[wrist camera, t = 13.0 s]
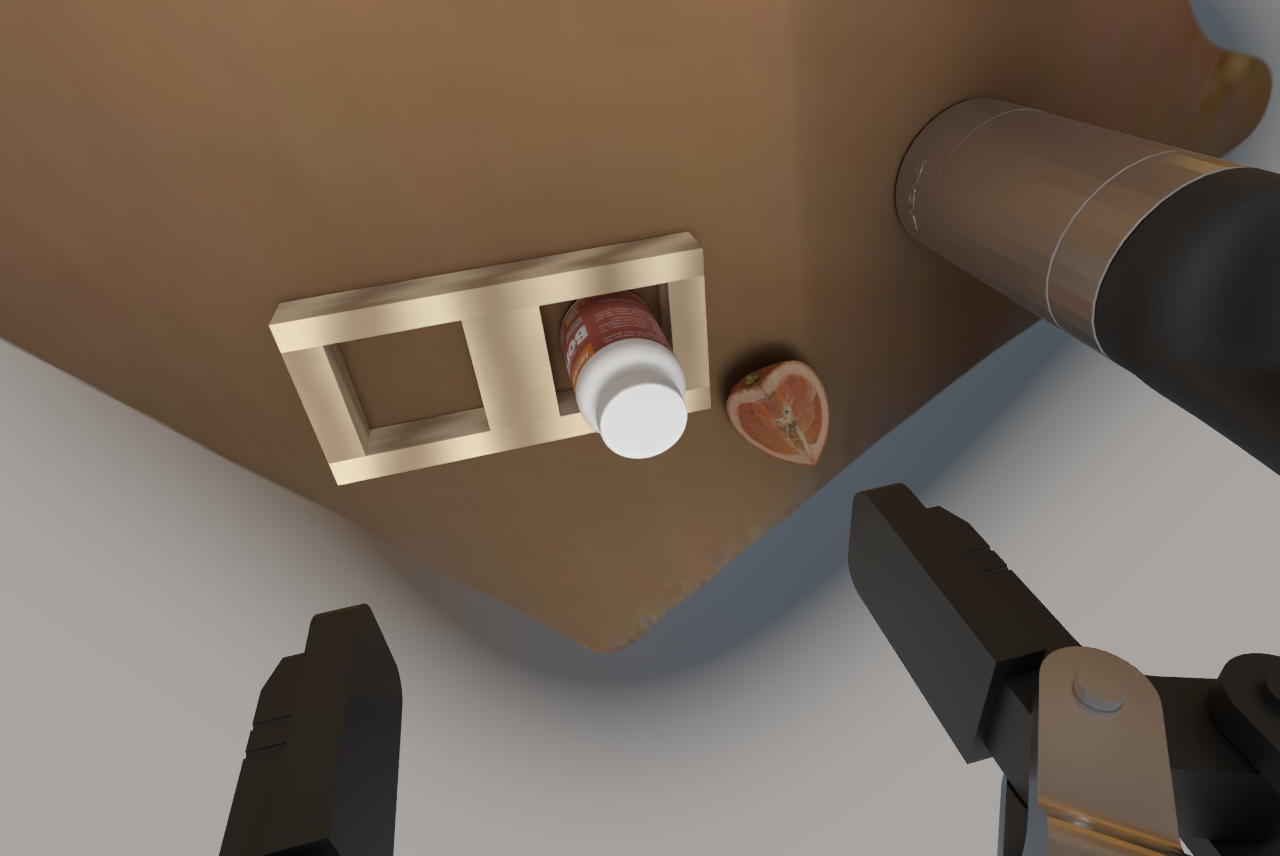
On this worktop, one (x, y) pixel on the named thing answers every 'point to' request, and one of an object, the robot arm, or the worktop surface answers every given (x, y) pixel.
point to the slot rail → (483, 350)
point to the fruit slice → (782, 412)
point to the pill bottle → (624, 374)
